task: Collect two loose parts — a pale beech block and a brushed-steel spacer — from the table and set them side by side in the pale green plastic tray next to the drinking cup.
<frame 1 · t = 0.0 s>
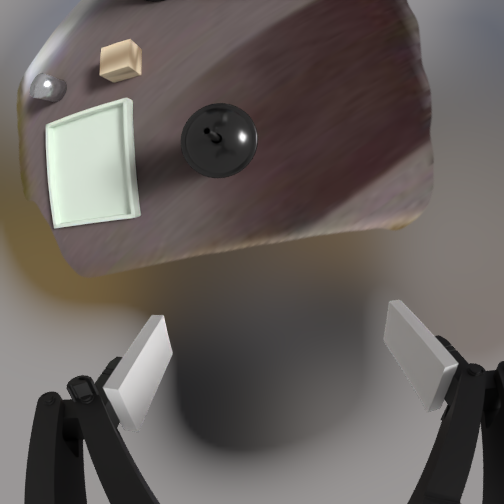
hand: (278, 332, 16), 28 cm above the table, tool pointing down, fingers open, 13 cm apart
tray: (90, 165, 40), on the table
drinking cup: (231, 150, 40), on the table
beech block: (127, 66, 36), on the table
steel spacer: (58, 91, 36), on the table
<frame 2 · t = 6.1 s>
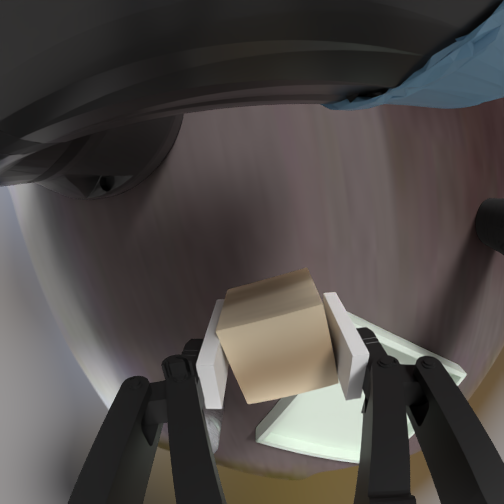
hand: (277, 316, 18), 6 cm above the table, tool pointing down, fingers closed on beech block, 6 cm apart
tray: (365, 402, 27), on the table
drinking cup: (488, 221, 22), on the table
beech block: (277, 314, 18), point 6 cm above the table, touching gripper
steel spacer: (204, 402, 27), on the table
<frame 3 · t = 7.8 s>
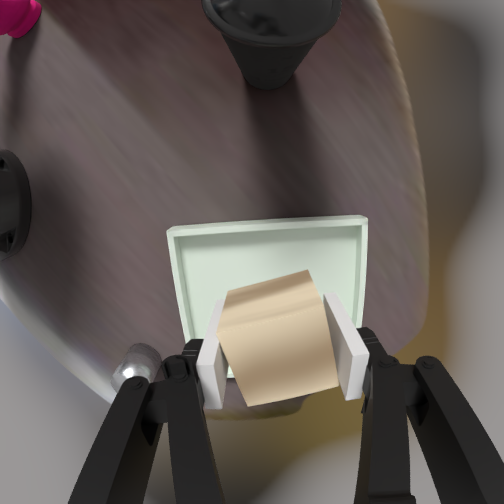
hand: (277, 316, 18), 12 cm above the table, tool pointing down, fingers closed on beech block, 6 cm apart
tray: (271, 300, 30), on the table
drinking cup: (266, 68, 24), on the table
beech block: (277, 315, 18), point 11 cm above the table, touching gripper
steel spacer: (145, 357, 33), on the table
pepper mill: (27, 20, 20), on the table
when the fingers open (3 cm above the table, at t = 9.4 s): beech block drops 2 cm, resting on tray.
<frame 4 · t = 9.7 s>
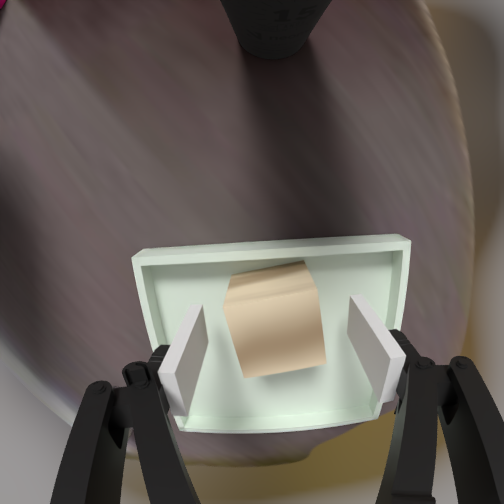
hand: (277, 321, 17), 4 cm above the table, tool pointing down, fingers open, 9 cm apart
tray: (277, 345, 22), on the table
drinking cup: (270, 33, 16), on the table
beech block: (274, 300, 20), point 1 cm above the table, touching tray
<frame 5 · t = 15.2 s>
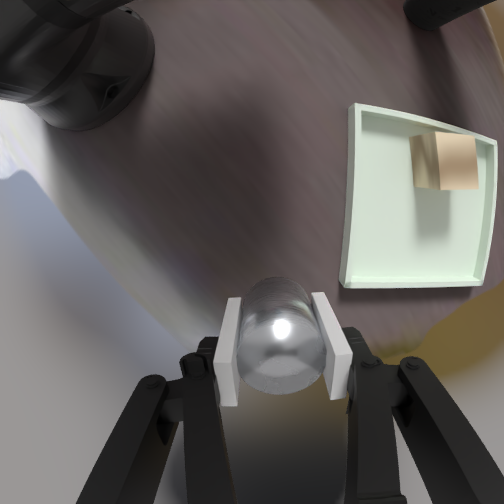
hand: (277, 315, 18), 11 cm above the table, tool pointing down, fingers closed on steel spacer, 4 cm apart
tray: (426, 202, 26), on the table
drinking cup: (419, 15, 20), on the table
beech block: (431, 162, 24), point 1 cm above the table, touching tray
steel spacer: (276, 308, 19), point 9 cm above the table, touching gripper
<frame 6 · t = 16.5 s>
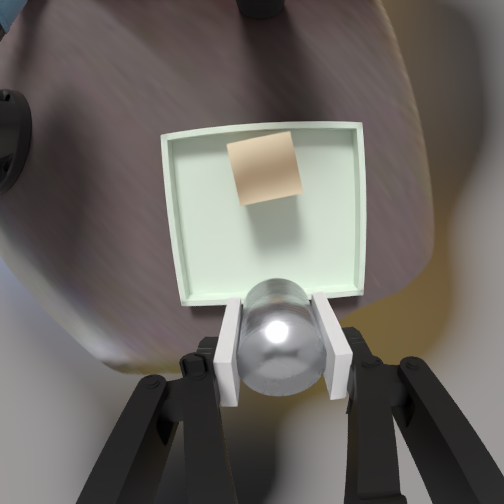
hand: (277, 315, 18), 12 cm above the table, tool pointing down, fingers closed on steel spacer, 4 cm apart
tray: (267, 212, 28), on the table
drinking cup: (259, 4, 22), on the table
beech block: (264, 168, 26), point 1 cm above the table, touching tray
steel spacer: (276, 309, 19), point 11 cm above the table, touching gripper
when the fingers open (3 cm above the table, at t = 18.2 s): steel spacer drops 1 cm, resting on tray.
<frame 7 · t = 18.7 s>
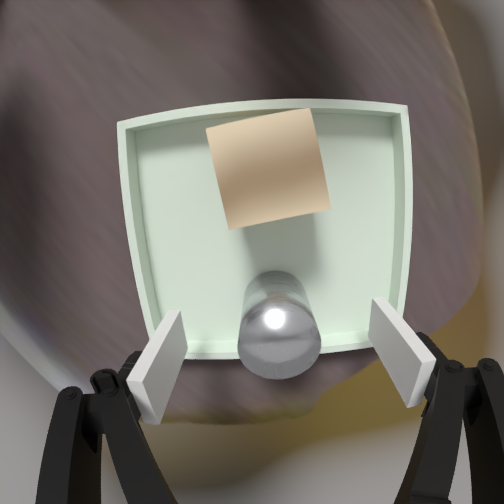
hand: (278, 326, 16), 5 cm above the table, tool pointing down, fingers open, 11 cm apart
tray: (271, 233, 20), on the table
beech block: (266, 168, 18), point 1 cm above the table, touching tray
steel spacer: (275, 299, 20), point 1 cm above the table, touching tray
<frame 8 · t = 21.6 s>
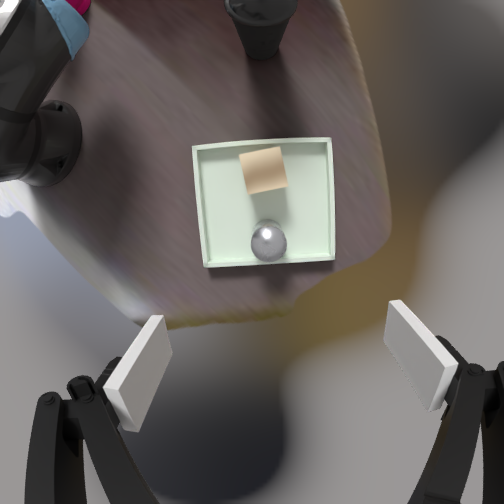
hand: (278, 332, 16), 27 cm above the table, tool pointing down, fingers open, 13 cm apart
tray: (265, 201, 40), on the table
drinking cup: (260, 47, 34), on the table
beech block: (263, 170, 38), point 1 cm above the table, touching tray
steel spacer: (267, 234, 41), point 1 cm above the table, touching tray
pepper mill: (78, 8, 30), on the table
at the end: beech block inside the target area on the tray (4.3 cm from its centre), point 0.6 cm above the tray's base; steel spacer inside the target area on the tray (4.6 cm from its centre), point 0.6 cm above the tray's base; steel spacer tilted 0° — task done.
